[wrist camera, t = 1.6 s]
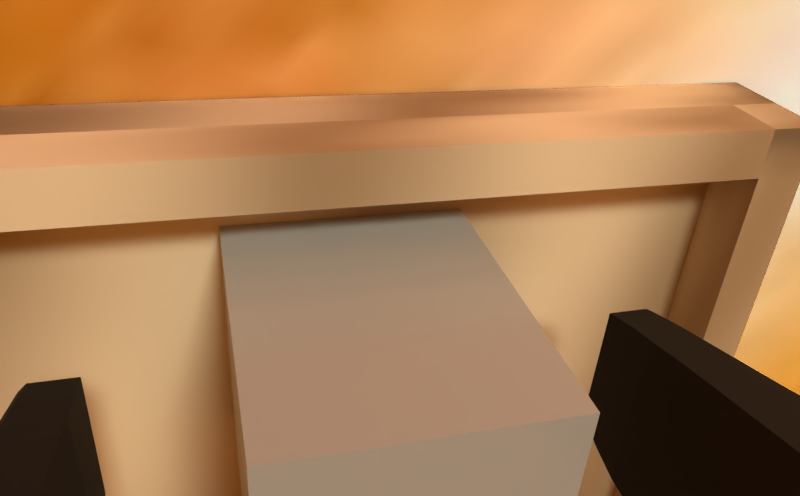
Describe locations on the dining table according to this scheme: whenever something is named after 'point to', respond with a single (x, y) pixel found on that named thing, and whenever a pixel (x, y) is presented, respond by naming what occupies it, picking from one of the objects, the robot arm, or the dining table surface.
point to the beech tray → (356, 196)
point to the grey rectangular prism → (393, 364)
